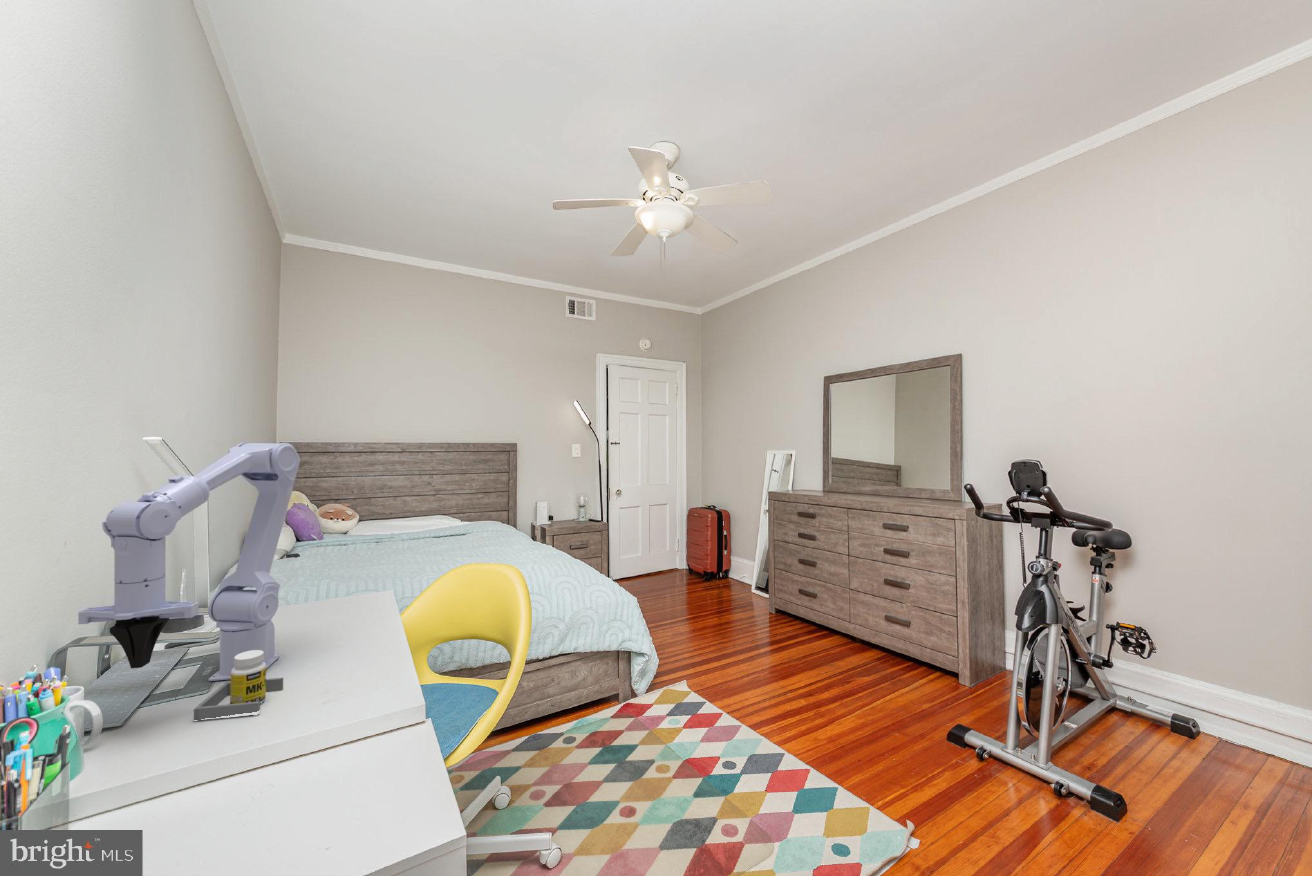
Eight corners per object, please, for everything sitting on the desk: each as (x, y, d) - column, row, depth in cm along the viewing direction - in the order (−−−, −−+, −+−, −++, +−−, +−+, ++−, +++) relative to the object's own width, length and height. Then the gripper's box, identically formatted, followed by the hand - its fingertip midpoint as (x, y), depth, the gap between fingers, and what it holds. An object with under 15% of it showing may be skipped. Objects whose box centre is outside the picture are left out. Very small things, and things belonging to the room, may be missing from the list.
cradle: (225, 693, 93) (225, 682, 93) (283, 688, 95) (283, 677, 95) (193, 721, 84) (193, 709, 84) (258, 715, 86) (258, 703, 86)
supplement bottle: (246, 712, 87) (246, 661, 87) (222, 709, 88) (223, 658, 88) (272, 698, 92) (273, 650, 92) (249, 695, 93) (250, 647, 92)
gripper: (61, 588, 77) (61, 681, 77) (179, 583, 81) (179, 672, 81) (99, 575, 84) (98, 661, 84) (206, 571, 87) (206, 653, 88)
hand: (140, 665), depth 83 cm, fingers closed
